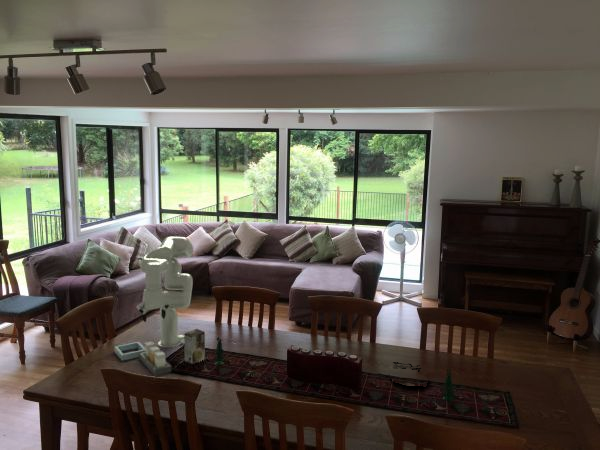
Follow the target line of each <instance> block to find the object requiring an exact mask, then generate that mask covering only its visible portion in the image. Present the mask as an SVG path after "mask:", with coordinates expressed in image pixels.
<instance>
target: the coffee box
mask: <svg viewBox="0 0 600 450" xmlns="http://www.w3.org/2000/svg"><path fill="white" fill-rule="evenodd" d="M205 335H206V333H205V330H204V331H203V330H201V329H198V328H195V329H193V330H190V331H187V332H186V333H184V335H183V336H184V339H183V340H184V362H186V363H190V364H192V365H194V364H196V363H198V362H199V363H201V362H203V361H205V360H204V359H206V348H205V345H206V343H205V341H206V340H205V339H206V336H205ZM202 360H203V361H202ZM200 361H201V362H200Z"/></svg>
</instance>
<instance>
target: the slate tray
mask: <svg viewBox="0 0 600 450" xmlns="http://www.w3.org/2000/svg"><path fill="white" fill-rule="evenodd" d="M134 349H138V350H136V351H131V352H126V353H123V352H124V351H130V350H134ZM142 352H145V345H143V344H142V343H141V342H140V341H135V342H129V343H126V344H121V345H115V346H114V353H115V354H116V356H117V357H118V358H119V359H120V360H121V361H128V360H131V359H136V358H139V353H142Z"/></svg>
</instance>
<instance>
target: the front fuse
mask: <svg viewBox="0 0 600 450" xmlns="http://www.w3.org/2000/svg"><path fill="white" fill-rule="evenodd" d="M165 360H166V353H165V352H164V351H162V350H160V352H157V353H155V367H156V368H159V367H164V366H165Z"/></svg>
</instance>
